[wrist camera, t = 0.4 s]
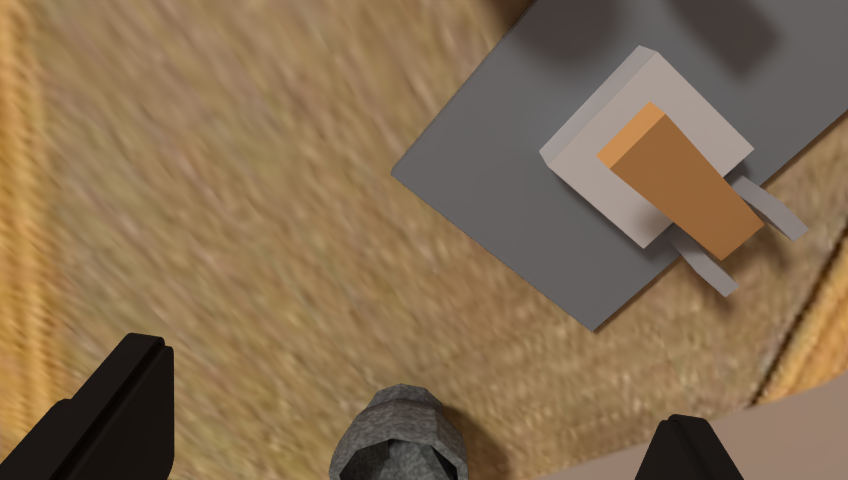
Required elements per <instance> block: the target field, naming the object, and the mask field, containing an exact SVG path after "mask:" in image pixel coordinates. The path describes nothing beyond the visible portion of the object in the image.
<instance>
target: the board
mask: <svg viewBox="0 0 848 480" xmlns="http://www.w3.org/2000/svg"><path fill="white" fill-rule="evenodd" d="M649 101H650V102H652V103H653V104H654V105H655V106H657V107H658V108H659V109H660V110H662V111H663V112H664V113H665V114H666V115H667V116H668V117H669V118H670V119H671V120H672V121H673V122H674V124H675V125H676V126H677V127H678V128H679V129H680V130H681V131H682V132H683V134H684V135H685V136H686V137H687V138H688V139H689V140H690V141H691V143H692V144H693V145H694V146H695V147H696V148H697V149H698V150H699V151H700V153H701V154H702V155H703V156H704V157H705V158H706V159H707V160H708V162H709V163H710V164H711V165H712V166H713V167H714V168H715V169H716V170H717V172H718V173H719V174H720V175H721V176H722V177H723V178H724V179H725V181H726V182H727V183H728V184H729V185H730V186H731V187H732V188H733V189H734V191H735V192H736V193H737V194H738V195H739V196H740V197H741V198H742V200H743V201H744V202H745V203H746V204H747V205H748V206H749V207H750V208H751V210H752V211H754V212H755V213H756V214H757V215H759V216H760V217H761V218H763V219H764V220H765V221H767V222H768V223H769V224H771V225H772V226H773V227H775V228H776V229H777V230H779V231H780V232H781V233H783V234H784V235H785V236H787V237H788V238H789V239H790V240H792V241H793V242H794V241H795V240H797V239H798V238H799V237H800V236H802V235H803V234H804V233H805V232H807V231H808V230H809V228H808V227H807V226H806V225H805V224H804V223H803V222H802V221H801V220H800V219H799V218H798V217H797V216H796V215H795V214H793V213H792V212H791V211H790V210H789V209H788V208H787V207H786V206H785V205H784V204H783V203H782V202H781V201H780V200H778V199H777V198H775V197H774V196H772V195H771V194H769V193H768V192H766V191H765V190H763V189H762V188H760V187H759V186H760V185H761V184H762V183H764V182H765V181H766V180H767V179H768V178H769V177H770V176H772V175H773V174H774V173H775V172H776V171H777V170H778V169H780V168H781V167H782V166H783V165H784V164H785V163H787V162H788V161H789V160H790V159H791V158H792V157H793V156H795V155H796V154H797V153H798V152H799V151H800V150H801V149H803V148H804V147H805V146H806V145H807V144H808V143H809V142H811V141H812V140H813V139H814V138H815V137H816V136H818V135H819V134H820V133H821V132H822V131H823V130H824V129H826V128H827V127H828V126H829V125H830V124H831V123H832V122H834V121H835V120H836V119H837V118H838V117H839V116H840V115H842V114H843V113H844V112H845V111H846V110H847V109H848V0H534V1H533V2H532V3H531V4H530V5H529V7H528V8H527V9H526V10H525V11H524V13H523V14H522V15H521V16H520V17H519V18H518V20H517V21H516V22H515V23H514V24H513V26H512V27H511V28H510V29H509V30H508V32H507V33H506V34H505V35H504V36H503V38H502V39H501V40H500V41H499V42H498V43H497V45H496V46H495V47H494V48H493V49H492V51H491V52H490V53H489V54H488V55H487V57H486V58H485V59H484V60H483V61H482V62H481V64H480V65H479V66H478V67H477V68H476V70H475V71H474V72H473V73H472V74H471V76H470V77H469V78H468V79H467V80H466V81H465V83H464V84H463V85H462V86H461V87H460V89H459V90H458V91H457V92H456V93H455V95H454V96H453V97H452V98H451V99H450V101H449V102H448V103H447V104H446V105H445V106H444V108H443V109H442V110H441V111H440V112H439V114H438V115H437V116H436V117H435V118H434V120H433V121H432V122H431V123H430V124H429V125H428V127H427V128H426V129H425V130H424V131H423V133H422V134H421V135H420V136H419V137H418V139H417V140H416V141H415V142H414V143H413V144H412V146H411V147H410V148H409V149H408V150H407V152H406V153H405V154H404V155H403V156H402V158H401V159H400V160H399V161H398V162H397V163H396V165H395V166H394V167H393V168H392V171H391V175H392V176H393V177H394V178H396V179H397V180H398V181H399V182H401V183H402V184H403V185H404V186H406V187H407V188H408V189H410V190H411V191H412V192H413V193H415V194H416V195H417V196H419V197H420V198H421V199H422V200H424V201H425V202H426V203H428V204H429V205H430V206H431V207H433V208H434V209H435V210H436V211H438V212H439V213H440V214H442V215H443V216H444V217H445V218H447V219H448V220H449V221H451V222H452V223H453V224H454V225H456V226H457V227H458V228H460V229H461V230H462V231H463V232H465V233H466V234H467V235H468V236H470V237H471V238H472V239H474V240H475V241H476V242H477V243H479V244H480V245H481V246H483V247H484V248H485V249H486V250H488V251H489V252H490V253H491V254H493V255H494V256H495V257H497V258H498V259H499V260H500V261H502V262H503V263H504V264H506V265H507V266H508V267H509V268H511V269H512V270H513V271H515V272H516V273H517V274H518V275H520V276H521V277H522V278H523V279H525V280H526V281H527V282H529V283H530V284H531V285H532V286H534V287H535V288H536V289H538V290H539V291H540V292H541V293H543V294H544V295H545V296H546V297H548V298H549V299H550V300H552V301H553V302H554V303H555V304H557V305H558V306H559V307H561V308H562V309H563V310H564V311H566V312H567V313H568V314H570V315H571V316H572V317H573V318H575V319H576V320H577V321H578V322H580V323H581V324H582V325H584V326H585V327H586V328H587V329H589V330H590V331H591V332H592V331H594V330H595V329H596V328H597V327H598V326H599V325H600V324H602V323H603V322H604V321H605V320H606V319H607V318H608V317H610V316H611V315H612V314H613V313H614V312H615V311H616V310H618V309H619V308H620V307H621V306H622V305H623V304H625V303H626V302H627V301H628V300H629V299H630V298H631V297H633V296H634V295H635V294H636V293H637V292H638V291H639V290H641V289H642V288H643V287H644V286H645V285H646V284H648V283H649V282H650V281H651V280H652V279H653V278H654V277H656V276H657V275H658V274H659V273H660V272H661V271H662V270H664V269H665V268H666V267H667V266H668V265H669V264H670V263H672V262H673V261H674V260H675V259H676V258H677V257H679V256H680V255H682V256H683V257H684V258H685V259H686V260H687V262H688V263H689V264H690V265H691V266H692V267H693V269H694V270H695V271H696V272H697V273H698V274H699V275H700V276H701V277H703V278H704V279H705V280H706V281H707V282H708V283H709V284H711V285H712V286H713V287H714V288H715V289H716V290H717V291H719V292H720V293H721V294H722V295H723V296H724V297H726V296H728V295H729V294H730V293H731V292H733V291H734V290H735V289H736V288H738V287H739V285H738V284H737V283H736V282H735V281H734V279H733V278H732V277H731V276H730V275H729V274H728V273H727V272H726V271H725V270H724V269H723V268H722V267H721V266H720V265H719V264H718V263H717V262H716V261H715V260H714V259H713V258H712V257H711V256H710V255H709V253H708V252H707V251H706V250H705V249H704V248H703V247H702V246H701V245H700V244H699V243H698V242H697V241H696V240H695V239H694V238H693V237H692V236H690V235H689V234H688V233H687V232H685V231H684V230H683V229H682V228H681V227H679V226H678V225H677V224H676V223H674V222H673V221H672V220H671V219H670V218H668V217H667V216H666V215H665V214H663V213H662V212H661V211H660V210H659V209H657V208H656V207H655V206H654V205H652V204H651V203H650V202H649V201H648V200H646V199H645V198H644V197H643V196H641V195H640V194H639V193H638V192H637V191H635V190H634V189H633V188H632V187H630V186H629V185H628V184H627V183H626V182H624V181H623V180H622V179H621V178H619V177H618V176H617V175H616V174H615V173H613V172H612V171H611V170H610V169H609V168H608V167H607V166H606V165H605V164H604V163H603V162H602V161H601V160H600V159H599V158H598V157H597V156H596V155H597V154H598V153H599V152H600V151H601V150H602V149H603V148H604V147H605V146H606V145H607V144H608V143H609V142H610V141H611V140H612V139H613V138H614V137H615V136H616V135H617V134H618V133H619V132H620V131H621V130H622V129H623V128H624V127H625V126H626V124H627V123H628V122H629V121H630V120H631V119H632V118H633V117H634V116H635V115H636V114H637V113H638V112H639V111H640V110H641V109H642V108H643V107H644V106H645V105H646V104H647V103H648V102H649Z"/></svg>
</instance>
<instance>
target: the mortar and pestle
mask: <svg viewBox="0 0 848 480" xmlns="http://www.w3.org/2000/svg"><path fill="white" fill-rule="evenodd" d="M329 477H330V480H469V476H468V465H467V455H466V448H465V444H464V441H463V437H462V434H461V433H460V432H459V431H458V430H457V429H456V427H455V426H454V425H453V424H452V423H451V422H450V421H449V420H447V419H446V418H445V417H444V416H443V412H442V404H441V402H440V401H439V400H437V399H436V398H435V397H434V396H433V395H432V394H431V393H430V392H429V391H428V390H426V389H425V388H422V387H416V386H411V385H405V384H398V385H395V386H392V387H389V388H386V389H383V390H380V391H378V392H377V393H376V395H375V396H374V397H373V399H372V400H371V402H370V403H369V405H368V406H367V408H366V409H365V410H363V411H362V412H361V413H360V414H359V415H357V416H356V418H355V419H354V421H353V422H352V424H351V425H350V427H349V428H348V430H347V431H346V433H345V434H344V435H343V437H342V438H341V440H340V441H339V443H338V445H337V447H336V450H335V452H334V454H333V457H332V460H331V464H330V469H329Z"/></svg>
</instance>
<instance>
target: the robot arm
mask: <svg viewBox="0 0 848 480" xmlns="http://www.w3.org/2000/svg"><path fill="white" fill-rule="evenodd" d="M173 461H174V351H173V348H172V347H170V346H165V341H164V339H163V338H162V337H158V336H151V335H144V334H138V333H129V334H127V335H126V336H125V337H124V338H123V339H122V341H121V342H120V343H119V344H118V345H117V346H116V348H115V349H114V350H113V351H112V352H111V353H110V355H109V356H108V357H107V358H106V359H105V360H104V361H103V363H102V364H101V365H100V366H99V367H98V368H97V370H96V371H95V372H94V373H93V374H92V375H91V377H90V378H89V379H88V380H87V381H86V382H85V383H84V385H83V386H82V387H81V388H80V389H79V390H78V392H77V393H76V394H75V395H74V396H73V397H72V399H63V400H60V401H58V402H57V403H56V404H55V405H54V406H52V407H51V408H50V410H49V411H48V412H47V413H46V414H45V415H44V416H43V417H42V418H41V420H40V421H39V422H38V423H37V424H36V425H35V426H34V427H33V429H32V430H31V431H30V432H29V433H28V434H27V435H26V436H25V438H24V439H23V440H22V441H21V442H20V443H19V444H18V445H17V446H16V448H15V449H14V450H13V451H12V452H11V453H10V454H9V455H8V457H7V458H6V459H5V460H4V461H3V462H2V463H1V464H0V480H167V478H168V476H169V474H170V471H171V469H172V465H173ZM635 480H744V479H743V477H742V476H741V474H740V473H739V471H738V469H737V468H736V466H735V464H734V463H733V461H732V460H731V458H730V456H729V455H728V453H727V451H726V450H725V448H724V447H723V445H722V443H721V442H720V440H719V439H718V437H717V435H716V434H715V432H714V431H713V429H712V427H711V426H710V424H709V423H708V422H707V421H706V420H705V419H703V418H699V417H692V416H685V415H679V414H673V415H671V416H670V417H669V418H668V420H662V421H661V422H660V423H659V425H658V427H657V429H656V432H655V434H654V436H653V439H652V441H651V443H650V445H649V448H648V450H647V452H646V455H645V457H644V459H643V462H642V464H641V466H640V469H639V471H638V473H637V475H636V477H635Z"/></svg>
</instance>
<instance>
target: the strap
mask: <svg viewBox="0 0 848 480" xmlns="http://www.w3.org/2000/svg"><path fill="white" fill-rule="evenodd" d="M596 156H597V157H598V158H599V159H600V160H601V161H602V162H603V163H604V164H605V165H606V166H607V167H608V168H609V169H610V170H611V171H612V172H613V173H615V174H616V175H617V176H618V177H619V178H621V179H622V180H623V181H624V182H626V183H627V184H628V185H629V186H630V187H632V188H633V189H634V190H635V191H637V192H638V193H639V194H640V195H641V196H643V197H644V198H645V199H646V200H648V201H649V202H650V203H651V204H652V205H654V206H655V207H656V208H657V209H659V210H660V211H661V212H662V213H663V214H665V215H666V216H667V217H668V218H670V219H671V220H672V221H673V222H674V223H676V224H677V225H678V226H679V227H681V228H682V229H683V230H684V231H685V232H687V233H688V234H689V235H690V236H692V237H693V238H694V239H695V240H696V241H698V242H699V243H700V244H701V245H702V246H704V247H705V248H706V249H707V250H709V251H710V252H711V253H712V254H713V255H715V256H716V257H717V258H718V259H720V260H721V261H722V260H723V259H724V258H726V257H727V256H728V255H729V254H730V253H732V252H733V251H734V250H735V249H736V248H738V247H739V246H740V245H741V244H742V243H743V242H745V241H746V240H747V239H748V238H749V237H751V236H752V235H753V234H754V233H755V232H757V231H758V230H759V229H760V228H761V227H763V226H764V225H765V224H764V223H763V222H762V221H761V220H760V219H759V217H758V216H757V215H756V214H755V213H754V212H753V211H752V210H751V208H750V207H749V206H748V205H747V204H746V203H745V202H744V201H743V200H742V198H741V197H740V196H739V195H738V194H737V193H736V192H735V191H734V189H733V188H732V187H731V186H730V185H729V184H728V183H727V182H726V181H725V179H724V178H723V177H722V176H721V175H720V174H719V173H718V172H717V170H716V169H715V168H714V167H713V166H712V165H711V164H710V163H709V162H708V160H707V159H706V158H705V157H704V156H703V155H702V154H701V153H700V151H699V150H698V149H697V148H696V147H695V146H694V145H693V144H692V143H691V141H690V140H689V139H688V138H687V137H686V136H685V135H684V134H683V132H682V131H681V130H680V129H679V128H678V127H677V126H676V125H675V124H674V122H673V121H672V120H671V119H670V118H669V117H668V116H667V115H666V114H665V113H664V112H663V111H662V110H660V109H659V108H658V107H657V106H655V105H654V104H653V103H652V102H650V101H649V102H648V103H647V104H646V105H645V106H644V107H643V108H642V109H641V110H640V111H639V112H638V113H637V114H636V115H635V116H634V117H633V118H632V119H631V120H630V121H629V122H628V123H627V124H626V126H625V127H624V128H623V129H622V130H621V131H620V132H619V133H618V134H617V135H616V136H615V137H614V138H613V139H612V140H611V141H610V142H609V143H608V144H607V145H606V146H605V147H604V148H603V149H602V150H601V151H600V152H599V153H598V154H597V155H596Z"/></svg>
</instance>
